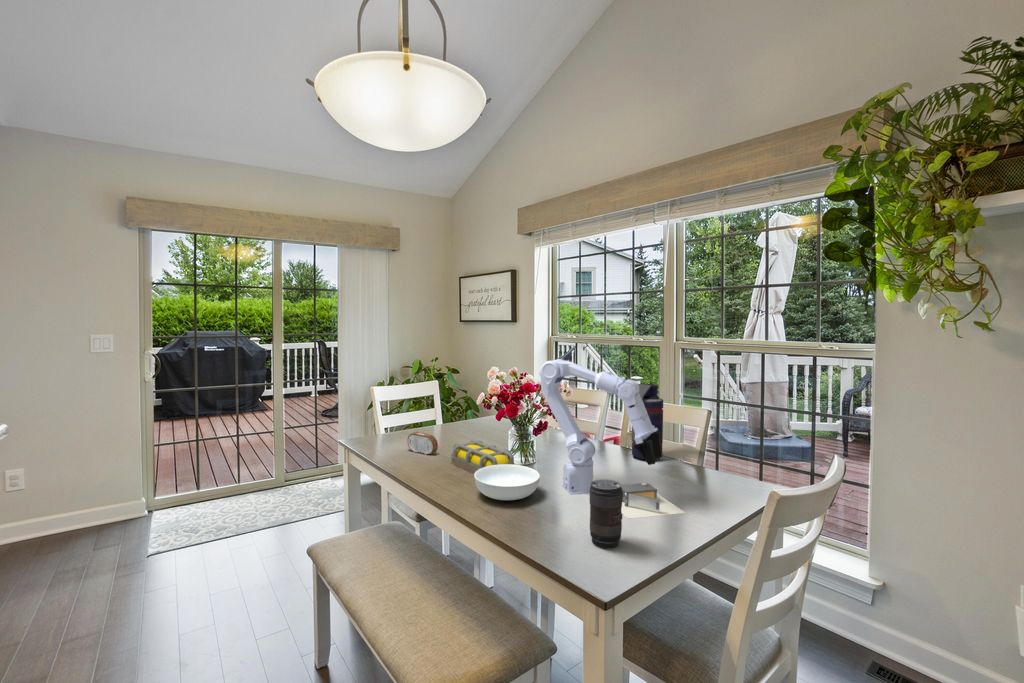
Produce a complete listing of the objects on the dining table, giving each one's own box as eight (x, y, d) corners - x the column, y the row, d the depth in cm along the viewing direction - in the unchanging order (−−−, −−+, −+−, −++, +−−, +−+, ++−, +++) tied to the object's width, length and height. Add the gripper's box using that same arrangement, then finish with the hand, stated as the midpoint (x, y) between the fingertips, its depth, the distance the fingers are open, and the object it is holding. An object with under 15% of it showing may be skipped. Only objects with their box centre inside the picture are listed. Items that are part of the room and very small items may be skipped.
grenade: (643, 452, 202) (644, 381, 200) (668, 458, 192) (669, 384, 191) (622, 458, 193) (623, 384, 191) (647, 465, 184) (648, 387, 182)
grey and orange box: (623, 505, 144) (623, 490, 143) (614, 498, 149) (614, 483, 149) (656, 502, 146) (657, 487, 146) (646, 495, 152) (647, 480, 152)
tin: (438, 455, 197) (438, 434, 197) (433, 456, 194) (433, 436, 194) (411, 449, 205) (411, 430, 205) (406, 451, 202) (406, 431, 202)
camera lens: (617, 534, 125) (617, 478, 124) (625, 549, 117) (626, 489, 116) (586, 535, 125) (586, 478, 124) (592, 550, 117) (593, 489, 116)
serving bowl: (486, 512, 139) (486, 489, 139) (466, 488, 159) (466, 468, 158) (551, 502, 147) (551, 480, 147) (523, 480, 166) (524, 461, 166)
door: (624, 506, 143) (624, 493, 143) (625, 504, 144) (625, 492, 144) (658, 513, 138) (658, 500, 137) (659, 512, 139) (659, 499, 138)
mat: (628, 519, 134) (628, 518, 134) (604, 498, 150) (604, 497, 150) (685, 513, 138) (685, 512, 138) (656, 493, 154) (656, 492, 154)
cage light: (475, 436, 196) (522, 452, 173) (475, 456, 196) (522, 474, 173) (444, 442, 187) (490, 460, 164) (444, 462, 187) (490, 483, 164)
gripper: (644, 419, 140) (661, 464, 138) (657, 409, 152) (673, 450, 150) (622, 425, 143) (639, 469, 142) (637, 415, 156) (652, 456, 154)
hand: (655, 460), depth 146 cm, fingers open, 7 cm apart
